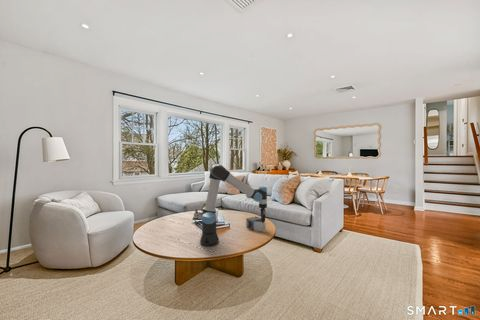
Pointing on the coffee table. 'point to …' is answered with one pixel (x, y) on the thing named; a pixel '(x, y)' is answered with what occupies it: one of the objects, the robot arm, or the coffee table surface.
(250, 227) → the camera body
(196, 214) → the sign
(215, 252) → the coffee table surface
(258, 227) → the side door
